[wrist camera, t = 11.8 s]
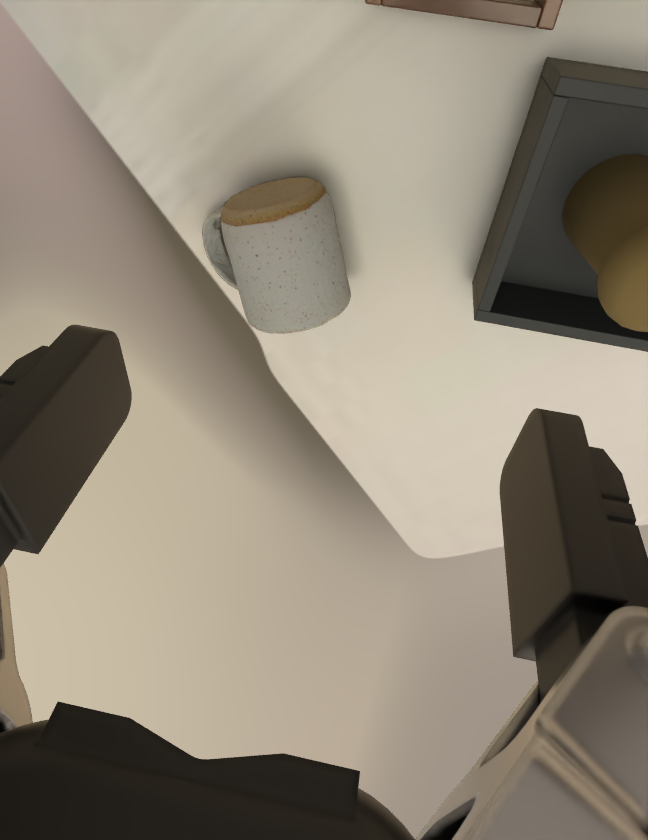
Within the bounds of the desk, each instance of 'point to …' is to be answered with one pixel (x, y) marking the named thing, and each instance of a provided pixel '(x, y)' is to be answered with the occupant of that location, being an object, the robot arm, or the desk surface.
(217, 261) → the ceramic mug
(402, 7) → the divided wooden tray
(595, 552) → the robot arm
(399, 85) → the desk surface
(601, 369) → the desk surface
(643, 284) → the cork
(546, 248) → the open box
